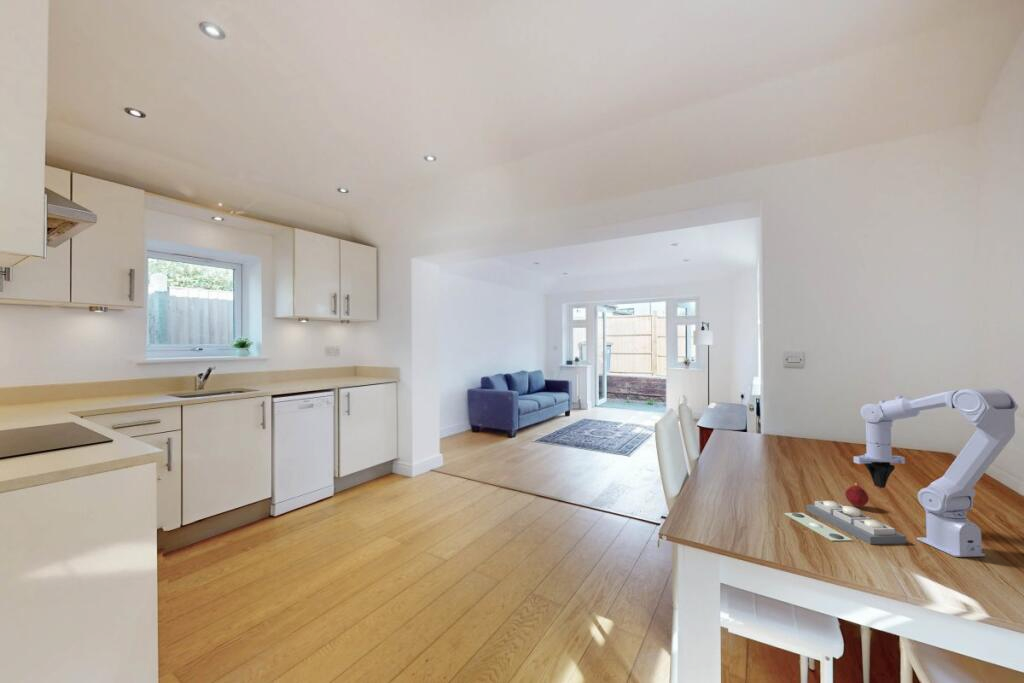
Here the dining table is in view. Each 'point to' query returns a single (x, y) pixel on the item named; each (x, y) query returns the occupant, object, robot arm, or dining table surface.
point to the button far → (831, 504)
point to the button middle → (851, 511)
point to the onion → (856, 496)
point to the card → (818, 527)
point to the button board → (856, 525)
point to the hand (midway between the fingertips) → (879, 486)
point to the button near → (873, 524)
